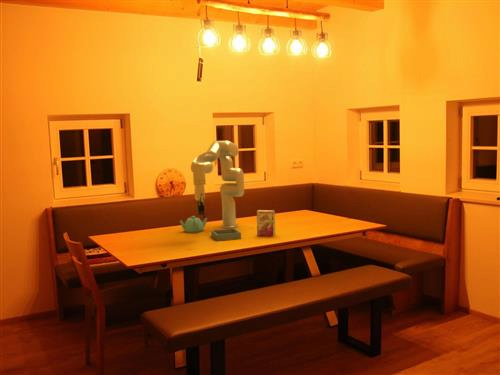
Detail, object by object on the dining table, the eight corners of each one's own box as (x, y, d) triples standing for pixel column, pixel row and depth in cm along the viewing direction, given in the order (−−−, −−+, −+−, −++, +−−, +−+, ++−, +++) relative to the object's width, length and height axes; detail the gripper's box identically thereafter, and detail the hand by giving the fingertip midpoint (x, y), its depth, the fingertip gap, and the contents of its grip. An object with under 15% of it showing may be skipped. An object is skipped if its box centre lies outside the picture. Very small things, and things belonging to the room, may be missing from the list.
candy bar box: (257, 235, 338) (256, 211, 336) (259, 234, 343) (258, 209, 341) (273, 236, 334) (272, 211, 333) (275, 234, 339) (274, 210, 337)
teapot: (178, 233, 358) (177, 217, 357) (189, 228, 372) (188, 214, 371) (198, 233, 352) (197, 218, 351) (208, 229, 366) (207, 214, 365)
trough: (211, 236, 341) (211, 230, 341) (234, 234, 346) (234, 228, 345) (216, 241, 326) (216, 234, 326) (241, 238, 331) (240, 232, 330)
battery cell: (196, 213, 330) (196, 200, 329) (203, 213, 331) (203, 199, 330) (198, 214, 326) (197, 201, 325) (205, 214, 327) (204, 200, 326)
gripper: (191, 181, 333) (192, 209, 335) (196, 183, 317) (197, 213, 319) (202, 180, 336) (203, 208, 338) (208, 183, 320) (209, 212, 322)
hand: (200, 210), depth 328 cm, fingers closed on battery cell, 4 cm apart
